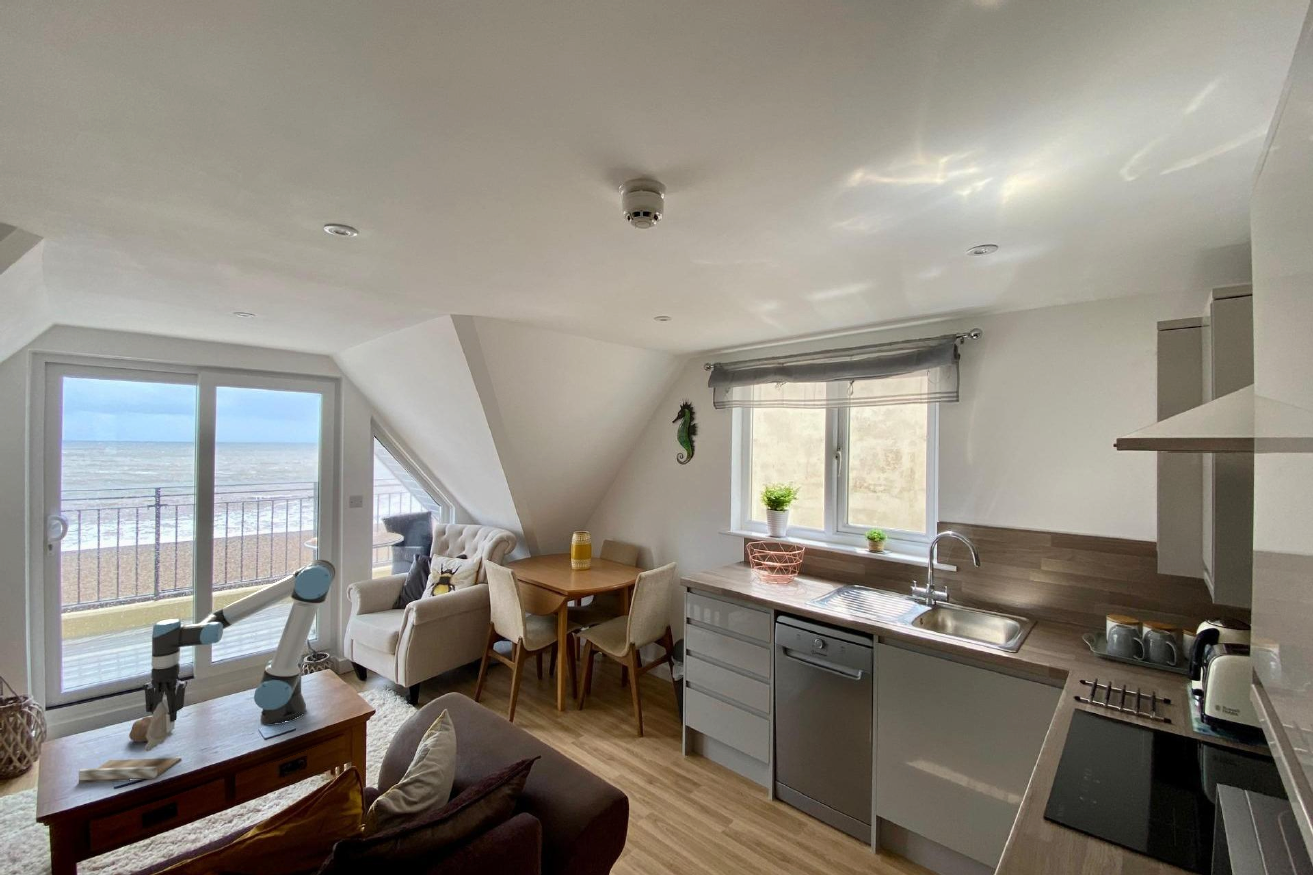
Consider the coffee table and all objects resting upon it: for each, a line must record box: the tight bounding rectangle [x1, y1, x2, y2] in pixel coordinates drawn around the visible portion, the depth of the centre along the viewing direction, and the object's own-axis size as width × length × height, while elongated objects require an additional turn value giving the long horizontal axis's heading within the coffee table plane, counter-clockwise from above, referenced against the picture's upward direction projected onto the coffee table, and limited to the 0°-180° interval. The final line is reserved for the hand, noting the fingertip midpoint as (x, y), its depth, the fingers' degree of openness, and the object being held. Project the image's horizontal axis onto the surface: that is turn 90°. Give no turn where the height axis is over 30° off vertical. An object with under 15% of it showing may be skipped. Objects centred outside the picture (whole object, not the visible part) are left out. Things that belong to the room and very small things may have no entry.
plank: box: [78, 757, 182, 784], centre depth 182 cm, size 23×11×4 cm, turn 94°
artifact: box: [144, 701, 173, 753], centre depth 193 cm, size 9×3×15 cm, turn 175°
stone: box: [128, 715, 153, 743], centre depth 204 cm, size 12×9×10 cm
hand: (164, 730), depth 194 cm, fingers closed on artifact, 3 cm apart
